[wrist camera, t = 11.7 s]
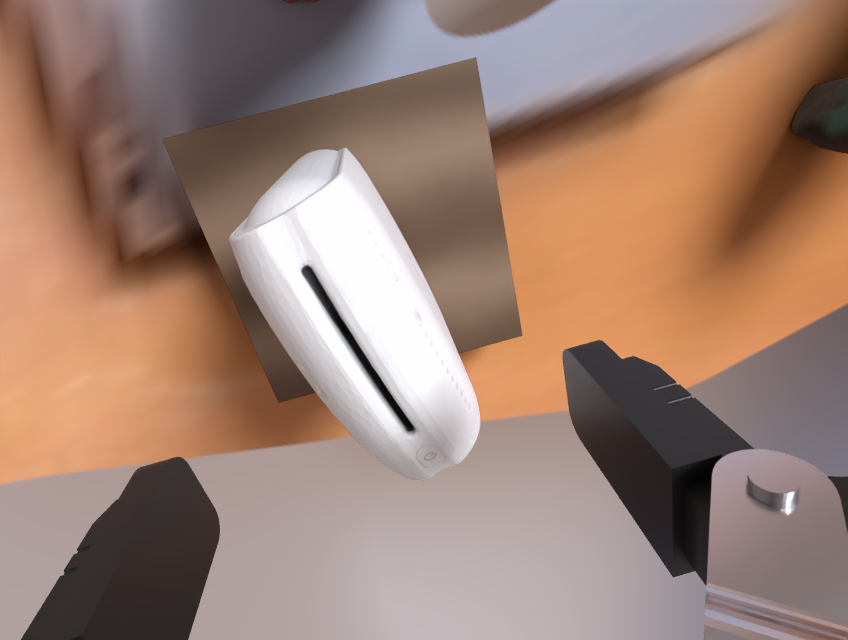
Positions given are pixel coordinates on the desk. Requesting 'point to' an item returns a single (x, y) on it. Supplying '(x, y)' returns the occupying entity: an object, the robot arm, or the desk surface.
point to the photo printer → (358, 314)
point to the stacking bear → (297, 0)
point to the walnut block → (396, 184)
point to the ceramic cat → (825, 116)
